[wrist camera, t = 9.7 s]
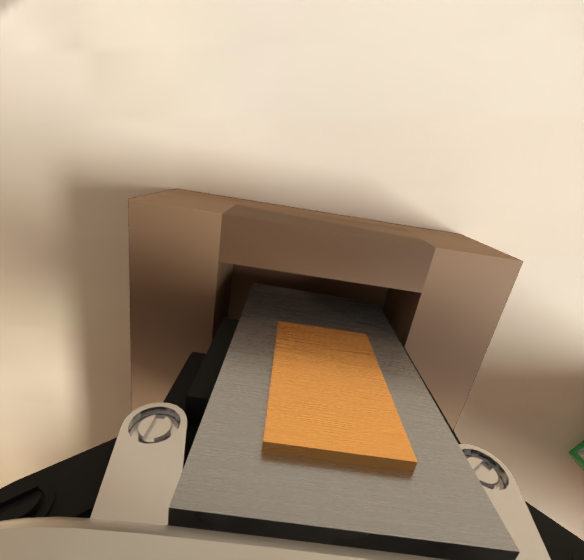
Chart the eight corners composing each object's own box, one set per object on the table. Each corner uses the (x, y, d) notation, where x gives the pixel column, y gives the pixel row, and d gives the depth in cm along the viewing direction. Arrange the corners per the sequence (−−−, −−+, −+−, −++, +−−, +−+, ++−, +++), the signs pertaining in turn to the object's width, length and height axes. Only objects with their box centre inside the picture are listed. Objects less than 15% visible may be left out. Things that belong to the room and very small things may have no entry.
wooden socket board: (349, 565, 21) (361, 652, 17) (164, 542, 21) (135, 627, 17) (461, 234, 14) (523, 261, 10) (176, 188, 13) (128, 198, 9)
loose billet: (350, 402, 13) (419, 719, 6) (240, 387, 13) (161, 691, 6) (378, 297, 12) (526, 541, 4) (253, 278, 11) (169, 495, 4)
